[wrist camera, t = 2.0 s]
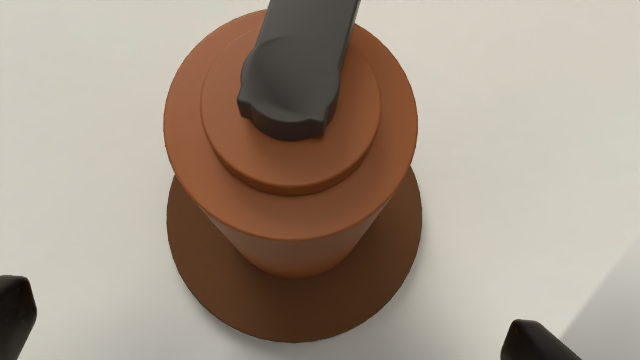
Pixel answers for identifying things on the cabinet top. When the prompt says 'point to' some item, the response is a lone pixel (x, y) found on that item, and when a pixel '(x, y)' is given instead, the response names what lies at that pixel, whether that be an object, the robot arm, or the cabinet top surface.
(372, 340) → the cabinet top surface
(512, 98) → the cabinet top surface
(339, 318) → the coaster
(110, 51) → the cabinet top surface
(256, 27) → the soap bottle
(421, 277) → the cabinet top surface
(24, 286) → the robot arm
